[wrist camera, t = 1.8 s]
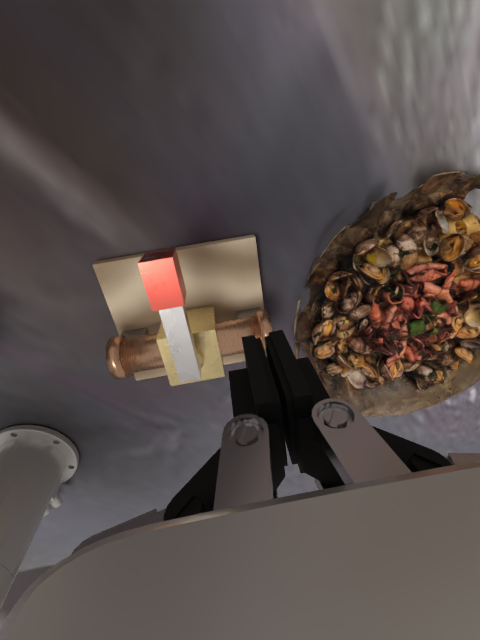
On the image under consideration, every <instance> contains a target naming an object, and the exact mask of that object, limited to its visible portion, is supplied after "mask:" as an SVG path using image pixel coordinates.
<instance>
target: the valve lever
mask: <svg viewBox="0 0 480 640" xmlns="http://www.w3.org/2000/svg"><path fill="white" fill-rule="evenodd" d="M138 266H139V269H140V273H141V276H142V279H143V282H144V286H145V289H146V292H147V295H148V299H149V302H150V305H151V308H152V311H158V310H159V314H160V317H161V321H162V324H163V327H164V331H165V334H166V337H167V341H168V344H169V347H170V351H171V354H172V357H173V361H174V364H175V368H176V371H177V374H178V378H179V381H180V383H184V382H189V381H195V380H200V379H201V367H200V363H199V359H198V355H197V351H196V347H195V343H194V339H193V335H192V331H191V327H190V323H189V319H188V315H187V311H186V307H185V300H186V293H187V292H186V288H185V284H184V280H183V276H182V271H181V267H180V263H179V259H178V255H177V251H176V248H172V249H166V250H161V251H155V252H149V253H144V255H143V256H142V258H141V259H140V261H139V262H138Z"/></svg>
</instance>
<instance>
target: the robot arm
mask: <svg viewBox="0 0 480 640" xmlns="http://www.w3.org/2000/svg"><path fill="white" fill-rule="evenodd" d="M264 339H265V347H266V353H265V350H264V347H263V344H262V341H261V338H260V337H259V338H255V335H250V336H245V337H242V343H243V349H244V355H245V361H246V368H245V369H239V370H234V371H229V380H230V389H231V398H232V407H233V416H234V418H232V419H231V420H230V421H229V422H228V423H227V424H226V425H225V427H224V430H223V433H222V441H221V448H220V449H219V450H218V451H217V452H216V453H215V454H214V455H213V456H212V457H211V458H210V459H209V460H208V461H207V463H206V464H205V465H204V466H203V467H202V468H201V469H200V470H199V471H198V472H197V473H196V474H195V475H194V476H193V477H192V479H191V480H190V481H189V482H188V483H187V484H186V485H185V486H184V487H183V488H182V489H181V490H180V491H179V492H178V493H177V495H176V496H175V497H174V498H173V499H172V500H171V502H170V503H169V504H168V506H167V508H166V509H163V510H161V511H159V512H158V511H157V509H153V510H151V511H149V512H146V513H144V514H142V515H139V516H137V517H135V518H132V519H130V520H128V521H125V522H123V523H121V524H118V525H116V526H114V527H111V528H109V529H107V530H104V531H102V532H100V533H97V534H95V535H92V536H91V537H89V538H87V539H86V540H84V541H82V542H81V543H80V544H79V545H78V546H77V547H76V548H75V549H74V551H73V552H72V554H71V555H70V556H68V557H67V558H65V559H63V560H62V561H60V562H59V563H57V564H56V565H55V566H53V567H52V568H50V569H49V570H48V571H46V572H45V573H44V574H43V575H41V576H40V577H39V578H38V579H37V580H36V581H35V582H34V583H33V584H32V585H31V586H30V587H29V588H28V589H27V590H26V591H25V592H24V594H23V595H22V596H21V597H20V599H19V600H18V601H17V603H16V604H15V606H14V607H13V609H12V610H11V612H10V613H9V615H8V617H7V618H6V620H5V622H4V623H3V625H2V627H1V628H0V640H480V453H448V457H446V456H442V455H441V454H439V453H437V452H435V451H434V450H432V449H429V448H427V447H424V446H421V445H419V444H416V443H414V442H411V441H409V440H406V439H404V438H401V437H399V436H396V435H394V434H391V433H388V432H386V431H383V430H381V429H378V428H376V427H373V426H371V425H370V423H369V422H368V421H367V420H366V419H365V418H364V416H363V415H362V414H361V413H360V412H359V411H358V410H357V408H356V407H354V406H353V405H352V404H351V403H349V402H347V401H345V400H341V399H336V398H330V396H329V395H328V393H327V391H326V389H325V387H324V385H323V384H322V382H321V380H320V378H319V376H318V374H317V372H316V371H315V369H314V367H313V365H312V363H311V361H310V360H309V358H308V357H306V358H300V359H296V358H295V356H294V354H293V352H292V349H291V347H290V345H289V343H288V341H287V339H286V337H285V335H284V332H283V331H282V330H279V331H273V332H269V336H265V337H264ZM266 355H267V357H266ZM285 441H286V445H287V448H288V451H289V455H290V458H291V462H292V464H298V466H299V469H300V472H301V473H306V474H308V475H310V476H312V477H314V478H315V483H316V485H317V488H318V490H317V491H312V492H307V493H302V494H296V495H291V496H286V497H281V498H278V493H277V488H278V486H279V485H280V483H281V482H282V480H283V479H284V477H285V469H284V466H287V465H288V464H287V455H286V445H285ZM78 464H79V453H78V450H77V448H76V447H75V445H74V444H73V443H72V442H71V441H70V440H69V439H68V438H67V437H65V436H64V435H62V434H61V433H59V432H57V431H55V430H52V429H49V428H46V427H42V426H36V425H18V426H12V427H9V428H5V429H3V430H1V431H0V608H1V606H2V604H3V602H4V600H5V598H6V595H7V593H8V591H9V589H10V587H11V585H12V583H13V580H14V578H15V576H16V574H17V572H18V570H19V568H20V565H21V563H22V561H23V559H24V557H25V555H26V552H27V550H28V548H29V546H30V544H31V542H32V539H33V537H34V535H35V533H36V531H37V529H38V526H39V524H40V522H41V520H42V518H43V517H44V516H46V515H47V514H48V513H49V512H50V511H51V508H52V507H51V505H50V504H49V503H51V504H52V505H53V507H54V508H56V507H59V506H60V505H61V504H62V501H63V500H62V499H61V497H60V496H59V494H57V493H58V491H59V489H60V486H61V484H62V483H63V482H65V481H67V480H68V479H70V478H71V477H72V476H73V474H74V473H75V471H76V469H77V467H78Z"/></svg>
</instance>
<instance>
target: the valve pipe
mask: <svg viewBox="0 0 480 640" xmlns="http://www.w3.org/2000/svg"><path fill="white" fill-rule="evenodd" d="M186 311H187V315H188V319H189V323H190V327H191V331H192V335H193V339H194V343H195V347H196V351H197V355H198V359H199V363H200V367H201V379H200V380H195V381H189V382H184V383H180V381H179V378H178V374H177V371H176V368H175V364H174V361H173V357H172V354H171V351H170V347H169V344H168V341H167V337H166V334H165V331H164V327H163V324H162V321H161V324H160V328H159V332H158V333H154V334H149V333H148V330H147V327H144V328H138V329H133V330H127V331H122V333H121V335H120V336H117V337H111V338H110V339H109V340H108V342H107V345H106V360H107V365H108V368H109V371H110V373H111V375H112V376H113V377H114V378H115V379H123V378H128V377H130V376H131V375H132V373H136V372H141V371H147V370H153V369H158V368H164V367H165V369H166V372H167V376H168V379H169V382H170V385H171V386H175V385H181V384H186V383H192V382H197V381H203V380H208V379H214V378H219V377H225V372H224V362H223V357H224V356H230V355H235V354H241V353H244V349H243V343H242V337H245V336H250V335H255V338H259V337H260V338H261V341H262V344H263V347H264V350H265V353H266V347H265V339H264V337H265V336H269V332H273V329H272V324H271V320H270V317H269V315H268V312H267V310H263V311H261V309H260V307H257V308H251V309H246V310H240V311H236V316H237V319H233V320H227V321H221V322H217V320H216V315H215V310H214V306H208V307H202V308H196V309H191V310H186Z"/></svg>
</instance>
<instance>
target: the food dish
mask: <svg viewBox="0 0 480 640" xmlns="http://www.w3.org/2000/svg"><path fill="white" fill-rule="evenodd" d="M475 188H478V189H480V175H469V174H468V173H467V172H466V171H452V172H445V173H441V174H436V175H432V176H431V177H430V178H429V179H428V180H427V181H425V182H424V184H423V185H421V186H419V187H417V188H416V189H414V190H412V191H411V192H410V193H408V194H407V195H406V196H404V197H402V198H399V199H397V200H394V198H395V196H396V194H397V193H396V192H395V193H391V194H389V195H388V196H385V197H383V198H382V199H381V200H379V201H378V202H377V201H372V203H371V206H370V207H369V210H368V211H367V212H366V213H365V214H364V215H363V216H362V217H360V218H359V219H357V220H355V222H354V223H353V224H351V225H350V226H349V225H346V226H344V227H343V229H342V230H341V231H340V232H338V233H337V234H336V235H335V236H334V238H332V240H331V242H330V243H329V245H328V246H327V247H326V249H325V250H324V252H323V253H322V254H321V256H320V257H318V258H316V259H315V261H314V262H313V265H312V268H311V270H310V273H309V274H308V277H307V285H306V286H305V287H304V289H306V288H310V293H311V294H310V301H309V303H308V305H307V306H306V307H305V309H304V310H303V311H302V312H301V313H300V304H301V298H300V300H299V301H298V305H297V311H296V317H295V322H294V340H295V337H296V338H297V341H298V343H296V342H295V345H294V346H295V354H296V359H299V351H300V345H301V346H302V347H303V352H304V354H305V355H306V357H308V358H309V360H310V361H311V363H312V365H313V367H314V369H315V371H316V372H317V374H318V376H319V378H320V380H321V382H322V384H323V385H324V387H325V389H326V391H327V393H328V395H329V396H330V398H336V399H341V400H345V401H347V402H349V403H351V404H352V405H353V406H354V407H356V408H357V410H358V411H359V412H360V413H361V414H362V415H363V416H372V417H377V416H378V417H379V416H382V417H384V416H398V415H404V414H409V413H412V412H414V411H417V410H421V409H425V408H427V407H431V406H434V405H436V404H439V403H441V402H443V401H444V400H446V399H448V398H451V397H453V396H455V395H457V394H459V393H461V392H463V391H465V390H466V389H467V388H469V387H470V386H472V385H473V384H475V383H476V382H478V381H479V380H480V220H479V219H478V217H477V216H476V215H473V214H471V213H470V209H471V208H472V207H471V206H470V205H469V204H467V203H466V202H465V201H464V200H463V199H464V198H465V196H466V194H467V193H468V192H469V191H471V190H473V189H475ZM393 200H394V201H393ZM375 203H376V204H375ZM374 204H375V205H374Z"/></svg>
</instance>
